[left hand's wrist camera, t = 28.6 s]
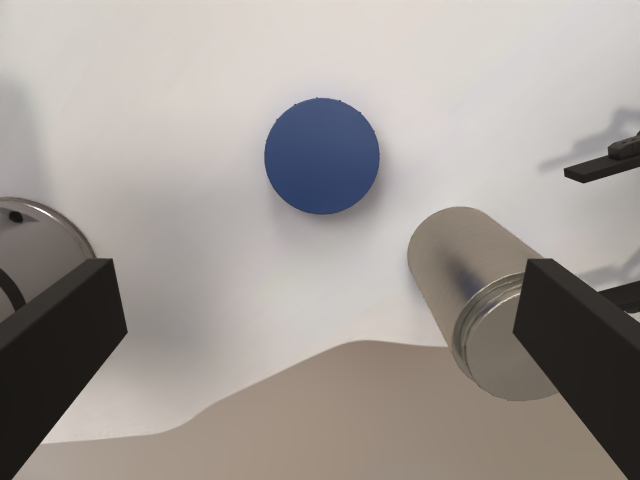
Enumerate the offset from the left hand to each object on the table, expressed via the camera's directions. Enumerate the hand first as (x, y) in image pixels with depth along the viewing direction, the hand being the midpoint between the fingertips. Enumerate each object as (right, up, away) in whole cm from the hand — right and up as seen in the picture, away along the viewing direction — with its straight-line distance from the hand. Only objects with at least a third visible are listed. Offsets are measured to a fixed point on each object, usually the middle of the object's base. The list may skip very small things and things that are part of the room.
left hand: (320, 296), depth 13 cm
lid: (0, +10, +25) cm, 27 cm away
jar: (+15, +1, +30) cm, 33 cm away
